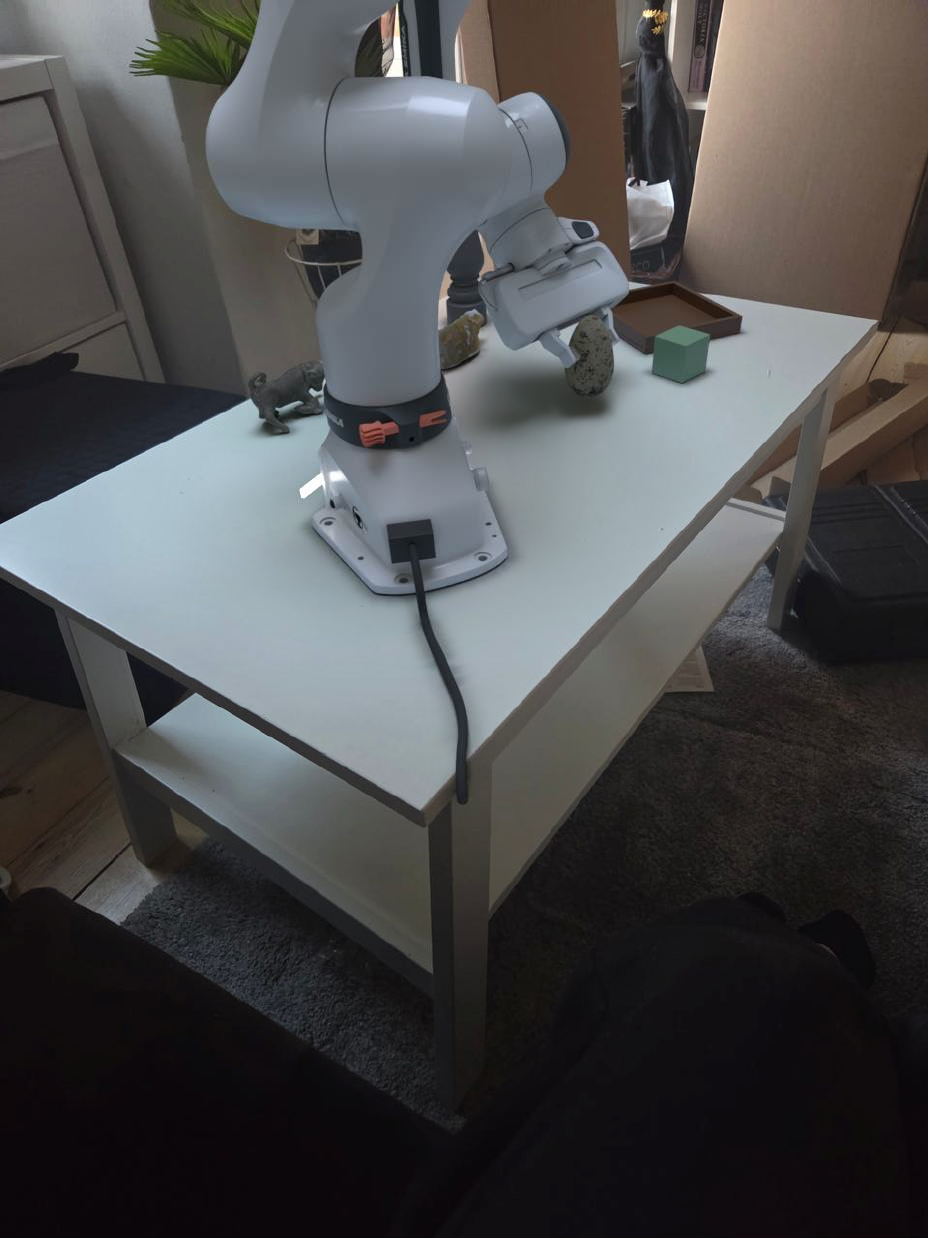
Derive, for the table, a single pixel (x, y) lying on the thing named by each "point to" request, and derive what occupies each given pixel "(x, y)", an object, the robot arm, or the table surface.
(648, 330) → the tray
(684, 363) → the green block
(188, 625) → the table surface
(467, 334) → the stone
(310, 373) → the dog figurine
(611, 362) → the decorative egg
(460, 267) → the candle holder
